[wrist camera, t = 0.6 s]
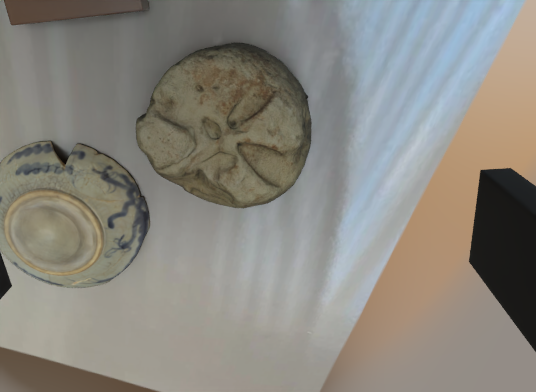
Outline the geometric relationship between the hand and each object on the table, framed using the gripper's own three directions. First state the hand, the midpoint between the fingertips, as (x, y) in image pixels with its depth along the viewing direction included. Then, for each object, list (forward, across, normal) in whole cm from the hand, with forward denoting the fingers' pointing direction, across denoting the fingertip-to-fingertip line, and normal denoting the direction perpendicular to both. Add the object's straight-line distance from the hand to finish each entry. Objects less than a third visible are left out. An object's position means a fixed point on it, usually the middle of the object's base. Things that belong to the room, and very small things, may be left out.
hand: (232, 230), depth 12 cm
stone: (+28, -3, -4) cm, 28 cm away
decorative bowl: (+28, -18, -12) cm, 35 cm away
